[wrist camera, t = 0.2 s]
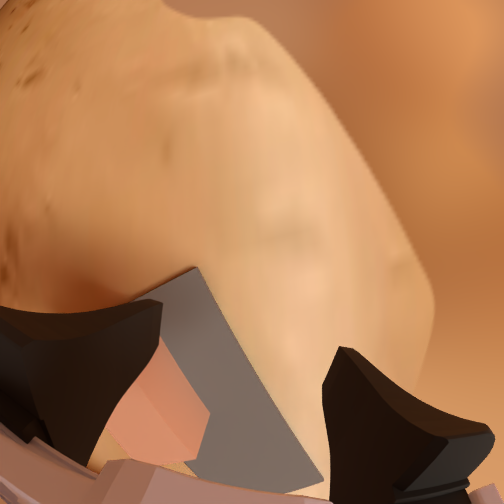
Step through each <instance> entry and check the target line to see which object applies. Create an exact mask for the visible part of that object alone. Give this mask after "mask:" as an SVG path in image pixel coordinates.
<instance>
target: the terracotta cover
mask: <svg viewBox="0 0 504 504" xmlns="http://www.w3.org/2000/svg"><path fill="white" fill-rule="evenodd" d="M209 416H210V412H209V411H208V409H207V408H206V407H205V405H204V404H203V402H202V401H201V399H200V398H199V397H198V395H197V394H196V392H195V391H194V389H193V388H192V386H191V385H190V383H189V382H188V380H187V379H186V377H185V376H184V374H183V372H182V371H181V369H180V368H179V366H178V365H177V363H176V361H175V360H174V358H173V356H172V355H171V353H170V352H169V350H168V348H167V347H166V345H165V343H164V341H163V340H162V338H161V336H160V338H159V346H158V347H157V349H156V351H155V353H154V355H153V357H152V358H151V360H150V362H149V363H148V365H147V366H146V367H145V369H144V370H143V371H142V372H141V374H140V375H139V376H138V378H137V379H136V380H135V381H134V383H133V384H132V385H131V386H130V388H129V389H128V390H127V392H126V393H125V394H124V395H123V397H122V398H121V400H120V401H119V403H118V404H117V406H116V408H115V409H114V411H113V413H112V415H111V416H110V418H109V420H108V422H107V424H106V426H105V428H106V429H107V430H108V431H109V433H110V434H111V435H112V436H113V438H114V439H115V440H116V441H117V442H118V444H119V445H120V446H121V447H122V448H123V450H124V451H125V452H126V453H127V454H128V455H129V456H130V457H131V459H135V460H138V461H142V462H146V463H150V464H154V465H165V464H172V463H178V462H184V461H189V460H194V459H196V458H197V454H198V451H199V448H200V445H201V442H202V439H203V435H204V432H205V429H206V426H207V423H208V419H209Z"/></svg>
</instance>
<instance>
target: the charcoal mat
mask: <svg viewBox="0 0 504 504" xmlns="http://www.w3.org/2000/svg"><path fill="white" fill-rule="evenodd" d="M143 299H153V300H156V301H159V302H162V303H163V310H162V318H161V328H160V336H161V338H162V340H163V341H164V343H165V345H166V347H167V348H168V350H169V352H170V353H171V355H172V356H173V358H174V360H175V361H176V363H177V365H178V366H179V368H180V369H181V371H182V372H183V374H184V376H185V377H186V379H187V380H188V382H189V383H190V385H191V386H192V388H193V389H194V391H195V392H196V394H197V395H198V397H199V398H200V399H201V401H202V402H203V404H204V405H205V407H206V408H207V409H208V411H209V412H210V416H209V419H208V423H207V426H206V429H205V432H204V435H203V439H202V442H201V445H200V448H199V451H198V454H197V458H196V459H194V460H189V461H184V463H185V464H186V465H187V466H188V467H189V468H190V469H191V470H192V471H193V472H194V473H195V474H196V475H197V476H198V477H199V478H201V479H204V480H208V481H212V482H216V483H221V484H225V485H230V486H235V487H240V488H246V489H252V490H258V491H265V492H273V493H281V494H285V493H288V492H292V491H295V490H299V489H302V488H305V487H308V486H311V485H314V484H317V483H320V482H323V481H324V478H323V476H322V475H321V474H320V472H319V471H318V469H317V468H316V466H315V465H314V463H313V462H312V461H311V459H310V458H309V456H308V455H307V453H306V452H305V450H304V449H303V447H302V446H301V444H300V443H299V441H298V440H297V438H296V437H295V435H294V433H293V432H292V430H291V429H290V427H289V426H288V424H287V423H286V421H285V419H284V418H283V416H282V415H281V413H280V412H279V410H278V408H277V407H276V405H275V404H274V402H273V400H272V399H271V397H270V395H269V394H268V392H267V390H266V389H265V387H264V386H263V384H262V382H261V381H260V379H259V377H258V376H257V374H256V372H255V370H254V369H253V367H252V365H251V364H250V362H249V360H248V359H247V357H246V355H245V353H244V352H243V350H242V348H241V346H240V345H239V343H238V341H237V339H236V338H235V336H234V334H233V332H232V330H231V329H230V327H229V325H228V323H227V321H226V320H225V318H224V316H223V314H222V312H221V310H220V309H219V307H218V305H217V303H216V301H215V299H214V298H213V296H212V294H211V292H210V290H209V288H208V286H207V284H206V282H205V280H204V279H203V277H202V275H201V273H200V271H199V269H198V267H196V268H194V269H193V270H191V271H189V272H187V273H185V274H183V275H181V276H179V277H177V278H175V279H173V280H171V281H169V282H167V283H166V284H164V285H162V286H160V287H158V288H156V289H154V290H152V291H150V292H148V293H146V294H144V295H143V296H141V297H139V298H137V299H135V300H133V301H131V302H135V301H139V300H143ZM131 302H129V303H131Z"/></svg>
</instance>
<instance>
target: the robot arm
mask: <svg viewBox="0 0 504 504" xmlns="http://www.w3.org/2000/svg"><path fill="white" fill-rule="evenodd" d="M162 310H163V303H162V302H159V301H156V300H153V299H143V300H139V301H135V302H131V303H127V304H123V305H119V306H115V307H110V308H105V309H100V310H95V311H89V312H81V313H68V314H55V313H35V312H27V311H21V310H16V309H11V308H7V307H3V306H0V498H1V499H3V500H4V501H5V502H6V503H7V504H504V502H503V500H502V498H501V496H500V494H499V492H498V490H497V488H496V487H495V484H494V483H493V484H489V485H487V486H484V487H481V488H479V489H476V490H474V491H472V492H471V493H469V494H467V492H466V490H465V488H467V487H468V486H469V485H470V482H469V480H468V478H467V477H468V476H469V475H470V474H471V473H472V472H473V471H474V470H475V469H476V468H477V467H478V466H479V465H480V464H481V463H482V462H483V460H484V459H485V458H486V457H487V455H488V454H489V453H490V451H491V449H492V448H493V445H494V442H495V436H494V434H493V433H492V431H491V430H490V428H489V427H488V426H487V425H486V424H484V423H479V422H475V421H470V420H466V419H463V418H459V417H457V416H454V415H451V414H448V413H446V412H443V411H441V410H438V409H436V408H434V407H432V406H430V405H428V404H426V403H424V402H422V401H421V400H419V399H417V398H416V397H414V396H412V395H411V394H409V393H408V392H406V391H405V390H403V389H402V388H400V387H399V386H398V385H396V384H395V383H394V382H393V381H391V380H390V379H389V378H388V377H386V376H385V375H384V374H383V373H382V372H380V371H379V370H378V369H377V368H376V367H375V366H374V365H372V364H371V363H370V362H369V361H368V360H367V359H366V358H364V357H363V356H362V355H361V354H360V353H358V352H357V351H356V350H354V349H353V348H347V347H341V346H339V347H338V350H337V352H336V355H335V357H334V359H333V362H332V364H331V366H330V369H329V371H328V373H327V375H326V378H325V380H324V382H323V384H322V405H323V412H324V418H325V424H326V429H327V435H328V441H329V448H330V497H329V501H328V500H326V499H319V498H313V497H308V496H303V495H292V494H281V493H273V492H265V491H258V490H252V489H246V488H240V487H235V486H230V485H225V484H221V483H216V482H212V481H208V480H204V479H201V478H197V477H193V476H190V475H186V474H183V473H180V472H176V471H173V470H170V469H167V468H164V467H161V466H158V465H154V464H150V463H146V462H142V461H138V460H135V459H121V460H110V461H107V463H106V464H105V466H104V467H103V469H102V471H101V472H100V474H97V473H95V472H93V471H91V470H89V469H87V468H86V466H87V464H88V461H89V459H90V456H91V454H92V452H93V450H94V448H95V446H96V443H97V441H98V439H99V437H100V435H101V433H102V431H103V429H104V427H105V426H106V424H107V422H108V420H109V418H110V416H111V415H112V413H113V411H114V409H115V408H116V406H117V404H118V403H119V401H120V400H121V398H122V397H123V395H124V394H125V393H126V392H127V390H128V389H129V388H130V386H131V385H132V384H133V383H134V381H135V380H136V379H137V378H138V376H139V375H140V374H141V372H142V371H143V370H144V369H145V367H146V366H147V365H148V363H149V362H150V360H151V358H152V357H153V355H154V353H155V351H156V349H157V347H158V346H159V338H160V328H161V318H162Z"/></svg>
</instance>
